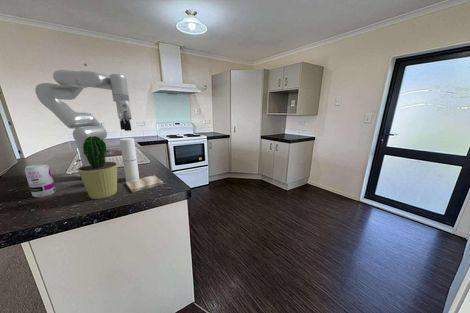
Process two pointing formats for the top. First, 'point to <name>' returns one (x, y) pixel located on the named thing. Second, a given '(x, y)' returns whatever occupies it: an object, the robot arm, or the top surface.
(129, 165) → the cylindrical container
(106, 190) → the potted cactus
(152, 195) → the top surface
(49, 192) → the supplement can
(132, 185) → the birch board
